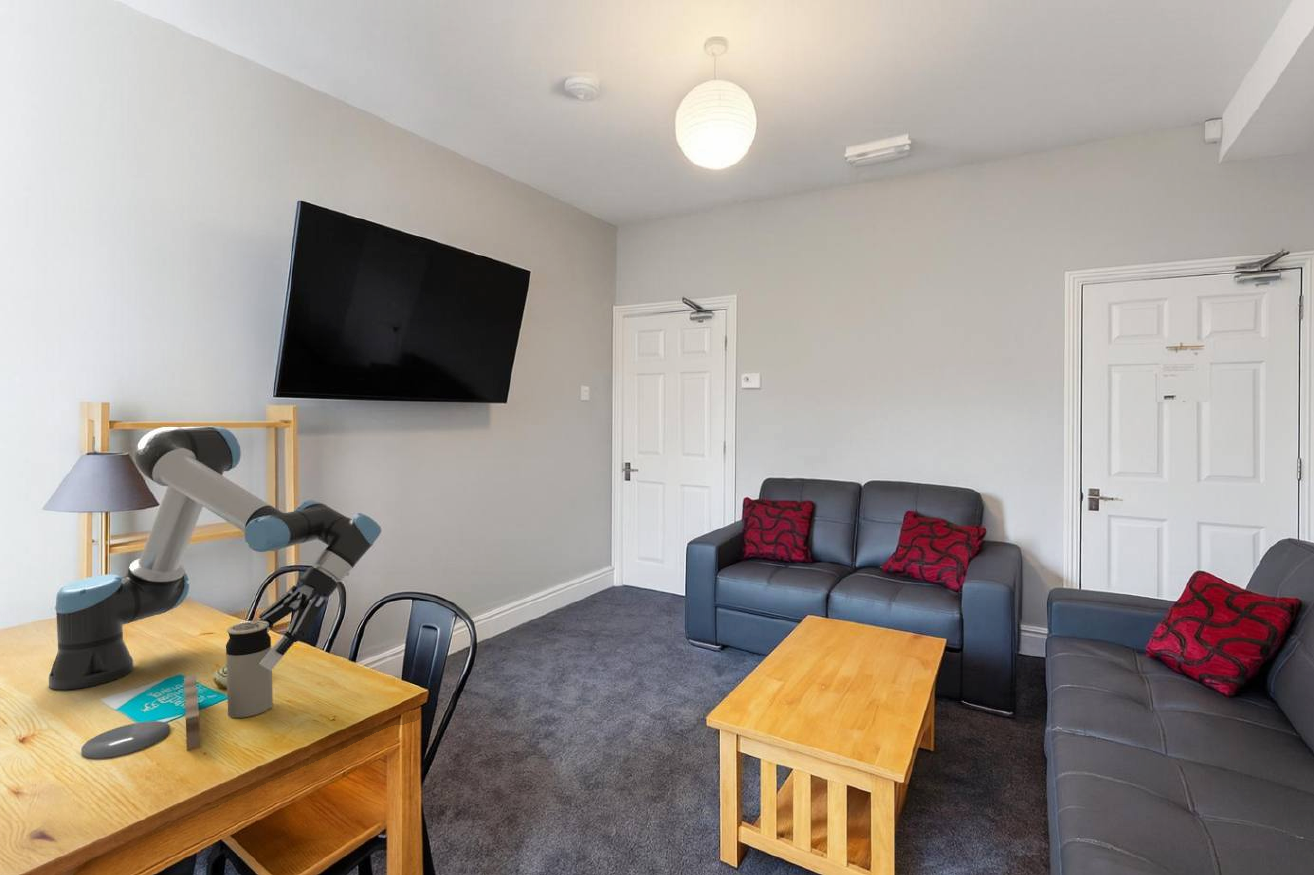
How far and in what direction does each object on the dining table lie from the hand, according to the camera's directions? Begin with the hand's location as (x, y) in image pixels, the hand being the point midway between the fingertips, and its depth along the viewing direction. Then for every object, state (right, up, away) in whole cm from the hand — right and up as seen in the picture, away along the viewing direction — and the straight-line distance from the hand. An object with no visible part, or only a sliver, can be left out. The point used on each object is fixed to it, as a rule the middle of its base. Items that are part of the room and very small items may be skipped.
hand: (252, 659), depth 132 cm
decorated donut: (-12, -11, +15) cm, 22 cm away
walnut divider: (-9, -11, -6) cm, 15 cm away
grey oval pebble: (-17, -11, -12) cm, 23 cm away
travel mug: (-1, -11, 0) cm, 11 cm away
